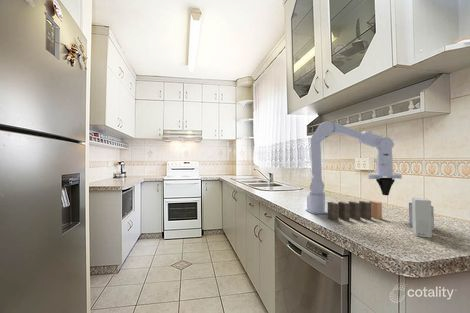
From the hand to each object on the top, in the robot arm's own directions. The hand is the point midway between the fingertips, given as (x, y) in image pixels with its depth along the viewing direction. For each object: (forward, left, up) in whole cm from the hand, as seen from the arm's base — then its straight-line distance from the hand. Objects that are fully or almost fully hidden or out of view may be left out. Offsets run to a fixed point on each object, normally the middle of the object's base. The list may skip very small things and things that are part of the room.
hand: (385, 195), depth 103 cm
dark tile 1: (0, -25, -10) cm, 27 cm away
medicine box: (+16, +1, -10) cm, 19 cm away
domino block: (0, -10, -10) cm, 14 cm away
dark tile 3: (0, -15, -10) cm, 18 cm away
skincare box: (+24, -7, -10) cm, 27 cm away
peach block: (0, -5, -10) cm, 11 cm away
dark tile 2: (0, -20, -10) cm, 22 cm away
